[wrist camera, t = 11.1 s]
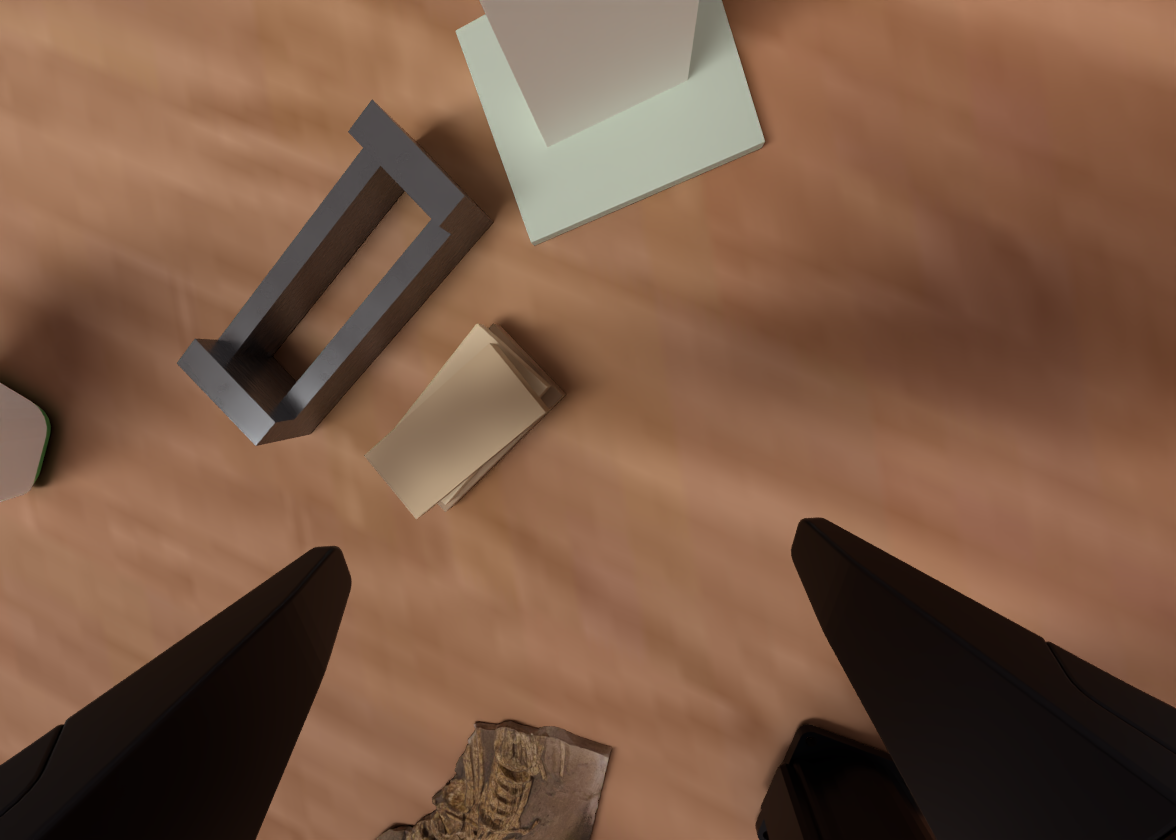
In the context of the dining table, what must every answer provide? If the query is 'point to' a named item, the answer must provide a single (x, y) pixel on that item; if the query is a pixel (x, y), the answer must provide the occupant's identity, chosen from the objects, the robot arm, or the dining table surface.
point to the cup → (20, 443)
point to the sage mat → (617, 132)
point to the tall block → (592, 55)
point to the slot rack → (321, 249)
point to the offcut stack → (464, 421)
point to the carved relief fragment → (517, 788)
